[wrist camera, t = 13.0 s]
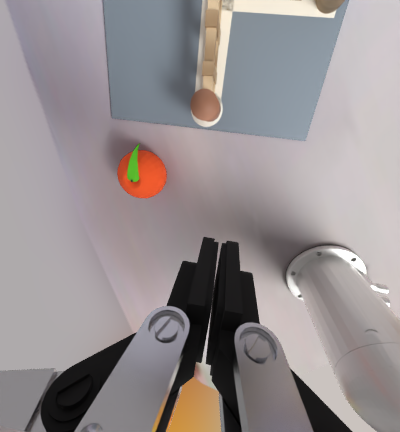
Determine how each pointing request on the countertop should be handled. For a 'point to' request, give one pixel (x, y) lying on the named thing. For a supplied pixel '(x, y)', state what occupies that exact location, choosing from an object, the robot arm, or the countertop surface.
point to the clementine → (141, 173)
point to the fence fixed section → (328, 5)
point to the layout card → (221, 62)
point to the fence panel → (209, 67)
